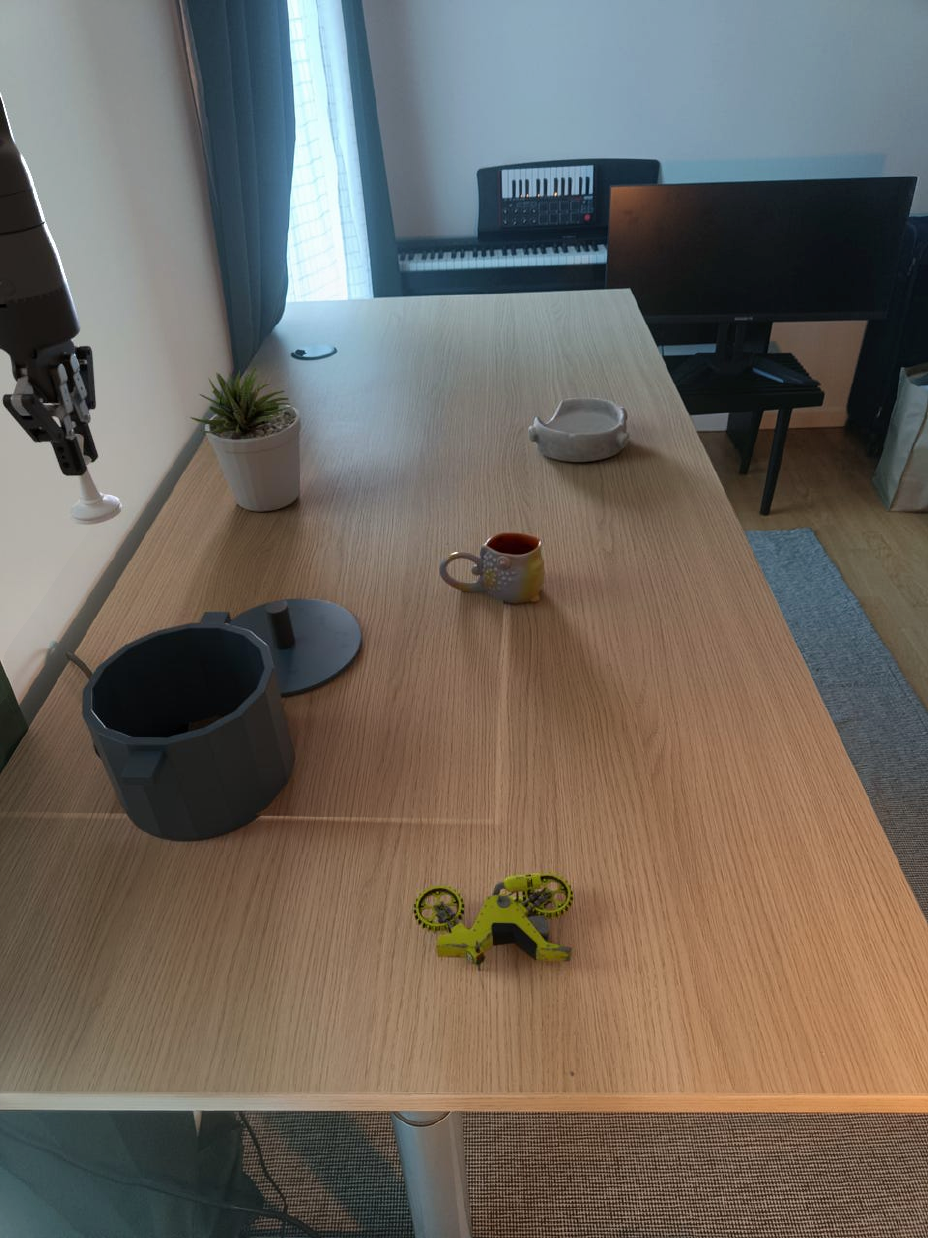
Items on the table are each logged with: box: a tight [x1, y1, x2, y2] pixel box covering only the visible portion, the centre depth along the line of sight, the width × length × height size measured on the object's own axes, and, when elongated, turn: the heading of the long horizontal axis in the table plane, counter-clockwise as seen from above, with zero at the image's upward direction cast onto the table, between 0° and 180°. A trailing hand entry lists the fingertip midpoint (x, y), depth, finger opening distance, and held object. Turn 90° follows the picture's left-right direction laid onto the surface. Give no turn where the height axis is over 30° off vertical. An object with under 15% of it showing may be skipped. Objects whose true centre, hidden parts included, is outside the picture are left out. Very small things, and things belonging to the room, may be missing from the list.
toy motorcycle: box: [412, 871, 574, 972], centre depth 64 cm, size 12×4×7 cm
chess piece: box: [69, 422, 123, 525], centre depth 84 cm, size 5×5×10 cm
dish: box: [527, 397, 630, 463], centre depth 129 cm, size 14×14×5 cm
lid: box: [229, 597, 363, 698], centre depth 92 cm, size 17×17×6 cm
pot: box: [81, 611, 296, 842], centre depth 77 cm, size 16×21×12 cm
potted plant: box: [189, 366, 302, 513], centre depth 116 cm, size 13×14×20 cm
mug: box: [438, 531, 546, 605], centre depth 99 cm, size 12×7×7 cm, turn 90°
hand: (81, 466), depth 84 cm, fingers closed on chess piece
